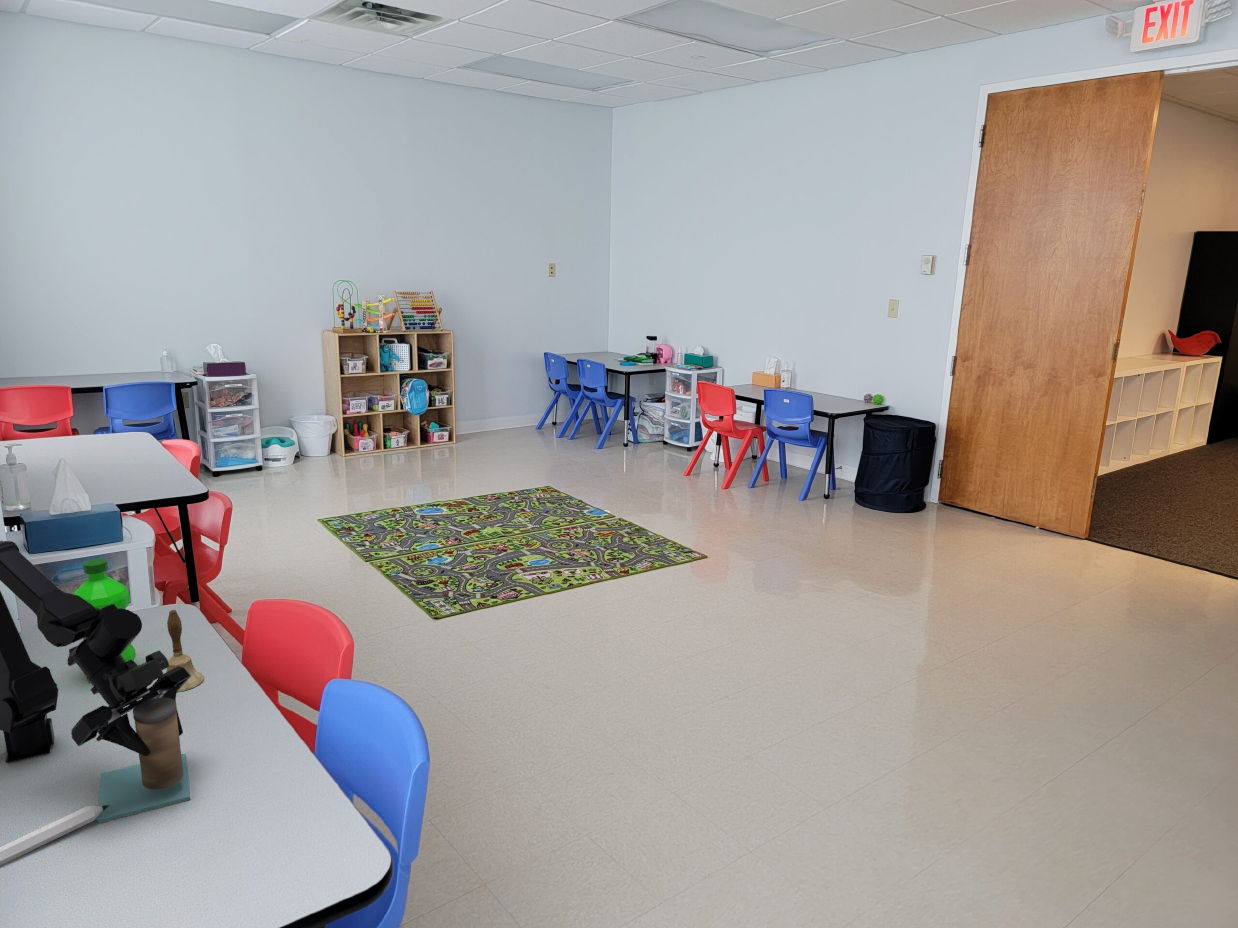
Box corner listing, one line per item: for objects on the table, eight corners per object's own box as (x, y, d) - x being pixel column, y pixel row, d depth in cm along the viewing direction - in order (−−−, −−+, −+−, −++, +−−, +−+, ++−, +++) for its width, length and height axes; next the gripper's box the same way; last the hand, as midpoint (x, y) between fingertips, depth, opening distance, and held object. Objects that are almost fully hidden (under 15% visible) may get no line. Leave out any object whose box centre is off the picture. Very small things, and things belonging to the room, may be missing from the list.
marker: (113, 813, 138) (-5, 869, 126) (108, 803, 139) (-10, 858, 127) (114, 804, 136) (-5, 860, 125) (108, 794, 137) (-11, 848, 125)
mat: (98, 823, 135) (97, 819, 135) (101, 776, 147) (100, 773, 147) (190, 799, 141) (189, 796, 141) (186, 756, 153) (185, 753, 153)
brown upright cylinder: (134, 789, 139) (125, 717, 136) (152, 767, 145) (143, 697, 142) (174, 789, 140) (165, 716, 137) (190, 766, 146) (182, 697, 143)
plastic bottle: (71, 680, 180) (53, 566, 174) (116, 658, 189) (101, 550, 183) (104, 689, 176) (87, 574, 170) (149, 667, 185) (135, 557, 179)
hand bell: (150, 687, 177) (140, 615, 173) (183, 670, 184) (175, 600, 181) (180, 695, 174) (171, 622, 170) (213, 677, 181) (205, 607, 178)
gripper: (73, 669, 130) (136, 750, 129) (176, 621, 147) (233, 693, 146) (45, 705, 135) (105, 784, 133) (148, 655, 151) (202, 725, 150)
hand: (164, 744), depth 140 cm, fingers closed on brown upright cylinder, 6 cm apart
